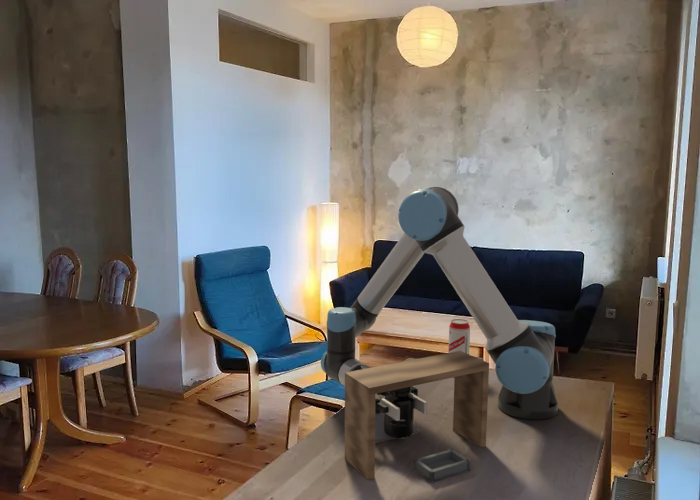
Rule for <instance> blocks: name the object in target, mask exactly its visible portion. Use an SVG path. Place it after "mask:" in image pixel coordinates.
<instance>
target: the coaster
mask: <svg viewBox="0 0 700 500" xmlns="http://www.w3.org/2000/svg"><path fill="white" fill-rule="evenodd" d="M418 433H419V428H418V427H415V426H414V427H413V433H412V435H414V434H418ZM394 439H396V438H393V437H390V436H388V435H387V434H386V433H385V432H384V413H383V412H381V413H375V444H379V443H383V442H387V441H390V440H394Z"/></svg>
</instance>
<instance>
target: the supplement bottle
mask: <svg viewBox="0 0 700 500" xmlns="http://www.w3.org/2000/svg"><path fill="white" fill-rule="evenodd" d="M410 392H411V386H410V387H406V388H401V389H396V390H392V391H390V392H388V393H387V394H386V396H384V399H386V400H387V401H389V402H390V403H392V404H394V405H395V406H397V407H398V408H400V420H399V421H396V420H395V419H393V418H392V417H390V416H389V415H387V414H386V413H384V432H385V433H386V434H387V435H388V436H390V437H393V438H395V439H406V438H409V437H410V436H412V435H413V434H412V433H413V427H415V426H414V425H415V424H414V421H415V408H414V403H415V399H414V396H413V395H412V394H411V393H410Z"/></svg>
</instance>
